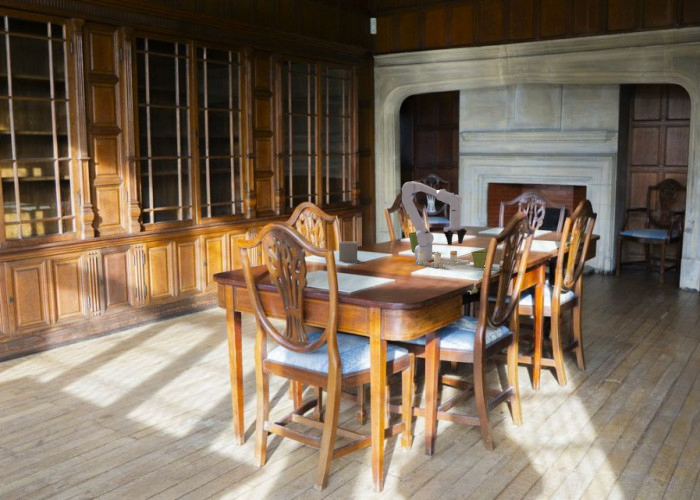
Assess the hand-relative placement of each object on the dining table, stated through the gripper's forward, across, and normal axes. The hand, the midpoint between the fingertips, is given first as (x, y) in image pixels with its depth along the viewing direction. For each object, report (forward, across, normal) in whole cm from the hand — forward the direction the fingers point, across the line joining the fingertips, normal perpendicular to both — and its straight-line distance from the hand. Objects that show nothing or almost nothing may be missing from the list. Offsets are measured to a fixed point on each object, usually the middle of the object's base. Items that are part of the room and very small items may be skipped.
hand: (455, 244), depth 376 cm
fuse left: (+9, -21, +3) cm, 23 cm away
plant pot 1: (+11, +16, +47) cm, 51 cm away
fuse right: (+9, -21, -9) cm, 25 cm away
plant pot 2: (+11, -3, -21) cm, 24 cm away
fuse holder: (+10, -21, -3) cm, 24 cm away
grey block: (+11, -34, +47) cm, 59 cm away
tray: (+10, -5, -4) cm, 12 cm away
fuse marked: (+10, -5, -4) cm, 12 cm away
